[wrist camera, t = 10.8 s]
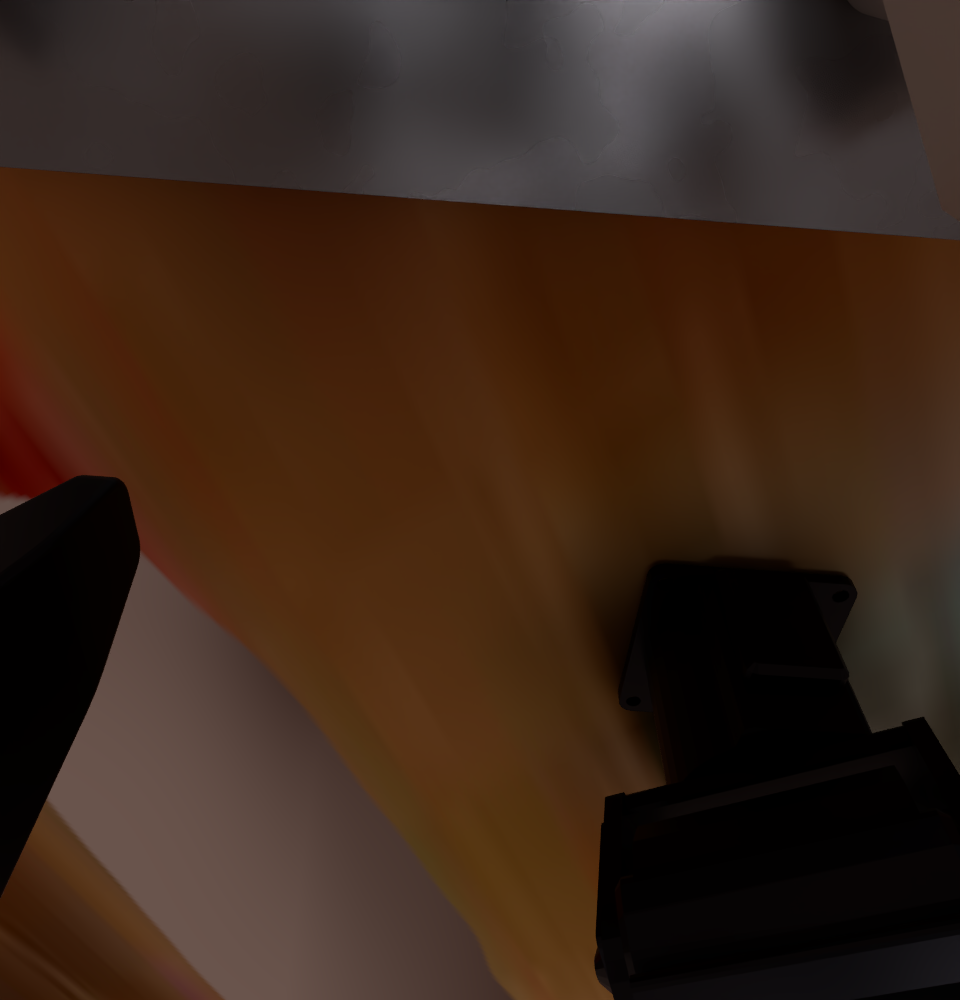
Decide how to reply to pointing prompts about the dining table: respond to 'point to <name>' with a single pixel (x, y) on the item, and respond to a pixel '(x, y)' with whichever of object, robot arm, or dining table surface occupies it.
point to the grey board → (484, 104)
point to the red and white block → (930, 80)
